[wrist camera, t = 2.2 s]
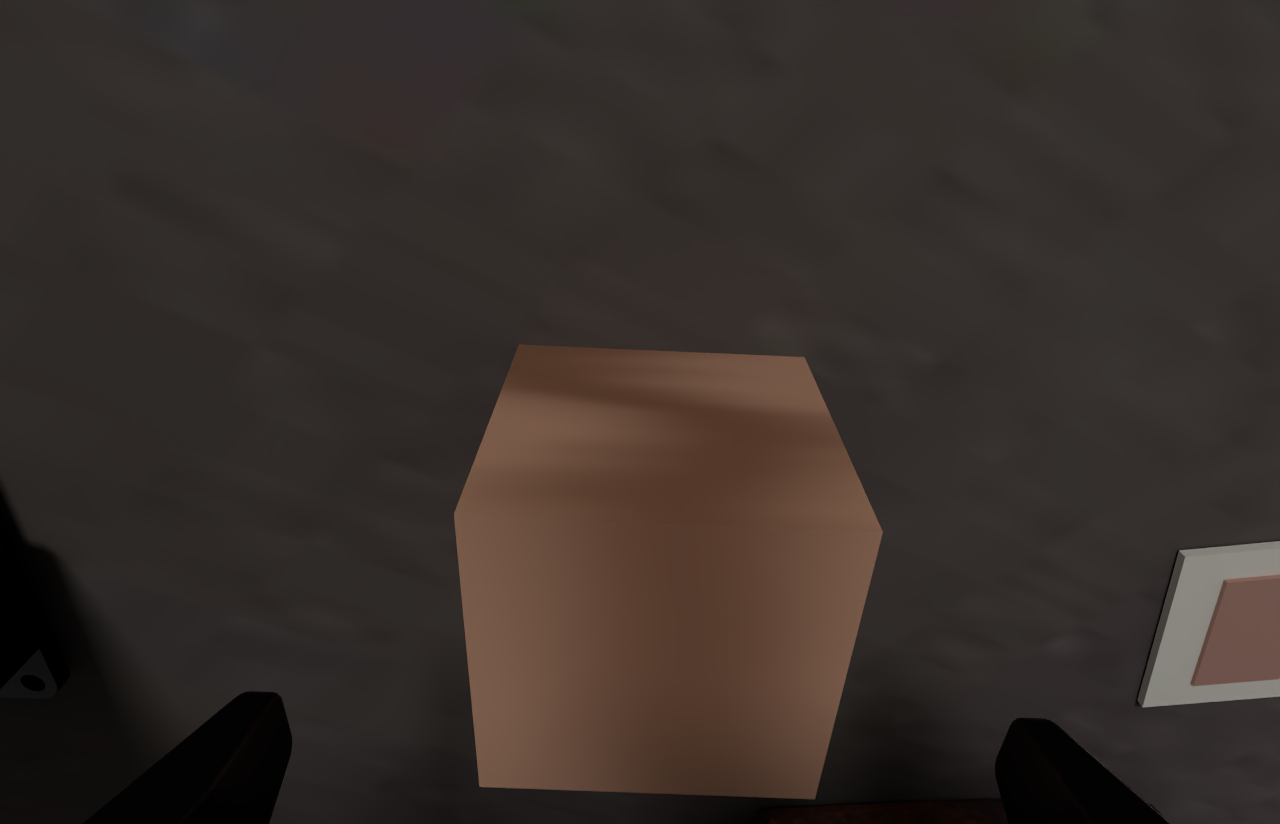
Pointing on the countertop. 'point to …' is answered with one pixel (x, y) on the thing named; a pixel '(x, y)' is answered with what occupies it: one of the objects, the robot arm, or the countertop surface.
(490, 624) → the top block
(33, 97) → the countertop surface
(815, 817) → the brick
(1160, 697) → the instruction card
